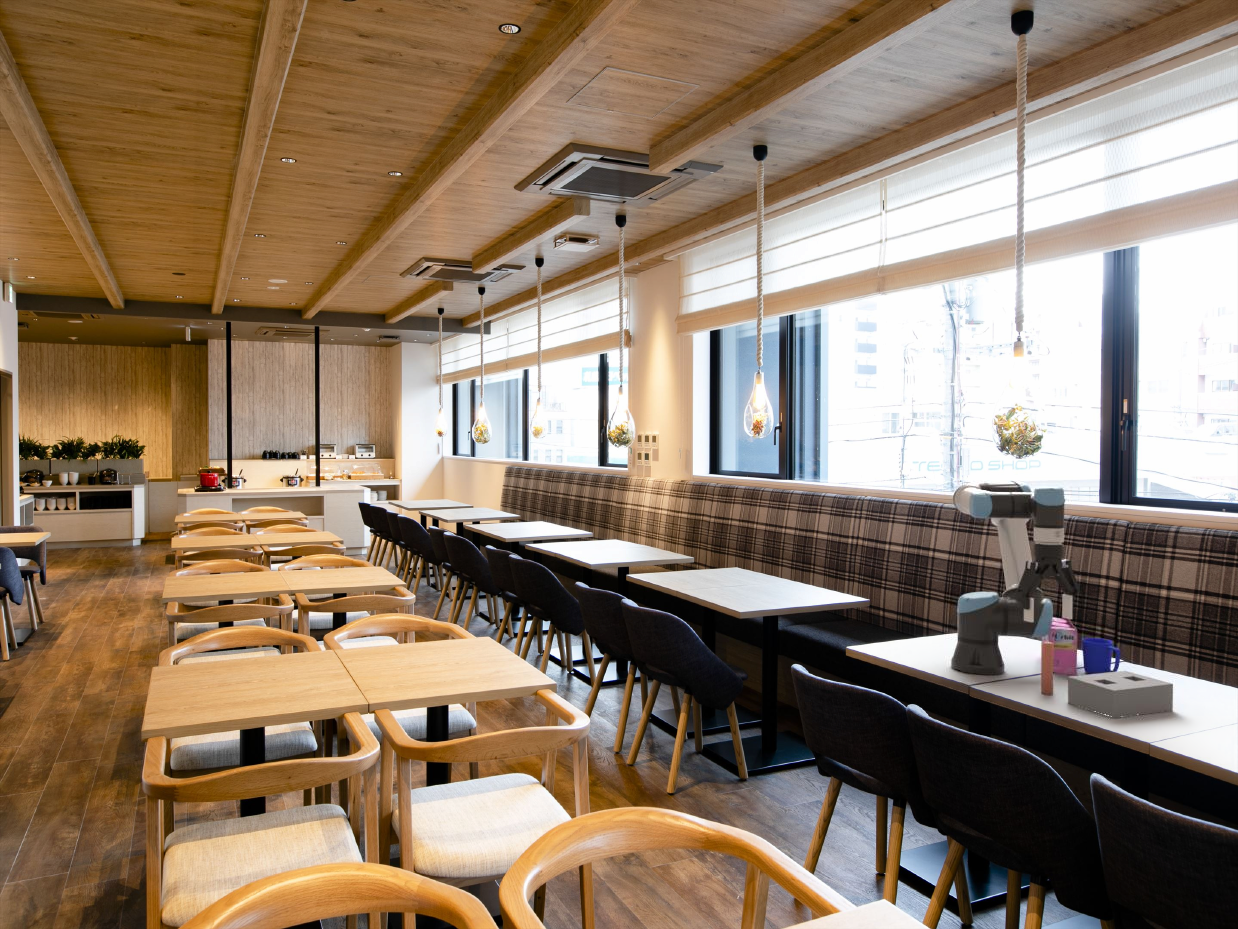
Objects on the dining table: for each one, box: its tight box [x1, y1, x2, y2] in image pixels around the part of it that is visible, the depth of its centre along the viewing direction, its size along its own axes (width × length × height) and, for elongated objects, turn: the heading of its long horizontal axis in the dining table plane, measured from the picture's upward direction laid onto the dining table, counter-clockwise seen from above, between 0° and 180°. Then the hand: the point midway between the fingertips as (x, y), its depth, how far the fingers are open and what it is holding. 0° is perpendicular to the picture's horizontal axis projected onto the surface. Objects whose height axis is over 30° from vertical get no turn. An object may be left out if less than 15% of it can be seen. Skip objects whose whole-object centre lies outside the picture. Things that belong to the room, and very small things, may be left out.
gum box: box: [1041, 616, 1078, 675], centre depth 270 cm, size 24×8×14 cm, turn 159°
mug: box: [1081, 637, 1121, 675], centre depth 257 cm, size 8×12×10 cm
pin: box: [1040, 641, 1054, 696], centre depth 237 cm, size 3×3×14 cm
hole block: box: [1067, 670, 1174, 718], centre depth 225 cm, size 20×14×7 cm
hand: (1048, 620), depth 237 cm, fingers open, 13 cm apart
